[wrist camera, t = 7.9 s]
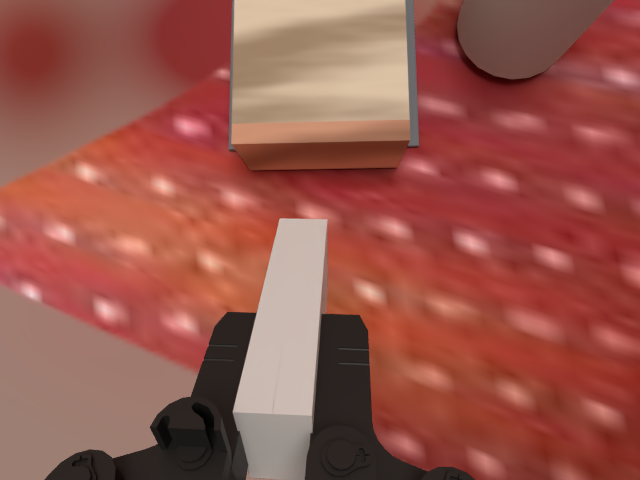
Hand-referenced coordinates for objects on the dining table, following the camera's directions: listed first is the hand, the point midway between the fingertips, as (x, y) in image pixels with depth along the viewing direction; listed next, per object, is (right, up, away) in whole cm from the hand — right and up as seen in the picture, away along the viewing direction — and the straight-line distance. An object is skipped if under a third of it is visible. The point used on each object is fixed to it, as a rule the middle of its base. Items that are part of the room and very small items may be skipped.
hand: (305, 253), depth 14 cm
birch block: (+1, +6, +12) cm, 13 cm away
